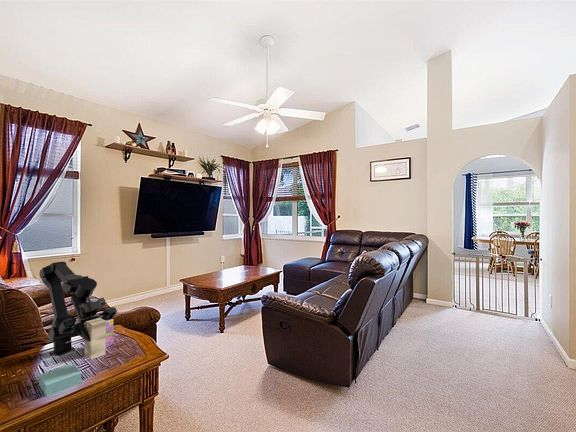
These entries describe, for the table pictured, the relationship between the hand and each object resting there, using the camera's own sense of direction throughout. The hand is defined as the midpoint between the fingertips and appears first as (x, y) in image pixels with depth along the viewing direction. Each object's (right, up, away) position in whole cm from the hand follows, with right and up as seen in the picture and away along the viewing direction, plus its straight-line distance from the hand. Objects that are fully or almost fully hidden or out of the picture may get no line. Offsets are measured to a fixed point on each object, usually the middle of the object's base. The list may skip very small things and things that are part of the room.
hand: (97, 338), depth 111 cm
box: (-12, -13, +21) cm, 27 cm away
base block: (-9, -14, -7) cm, 18 cm away
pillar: (-1, -7, +1) cm, 7 cm away
